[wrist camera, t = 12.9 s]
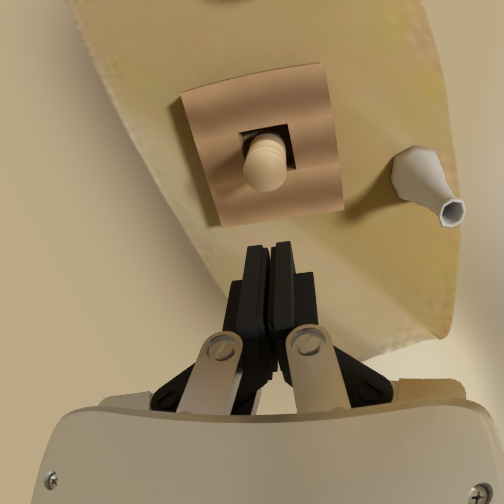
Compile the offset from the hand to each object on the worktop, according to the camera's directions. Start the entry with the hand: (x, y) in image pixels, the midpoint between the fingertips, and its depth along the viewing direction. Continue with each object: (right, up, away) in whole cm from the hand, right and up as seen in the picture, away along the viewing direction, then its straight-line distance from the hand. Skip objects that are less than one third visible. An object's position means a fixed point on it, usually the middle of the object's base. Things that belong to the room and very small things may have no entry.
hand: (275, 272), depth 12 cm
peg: (+1, +13, +20) cm, 24 cm away
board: (+1, +13, +20) cm, 24 cm away
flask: (+19, +10, +20) cm, 29 cm away
